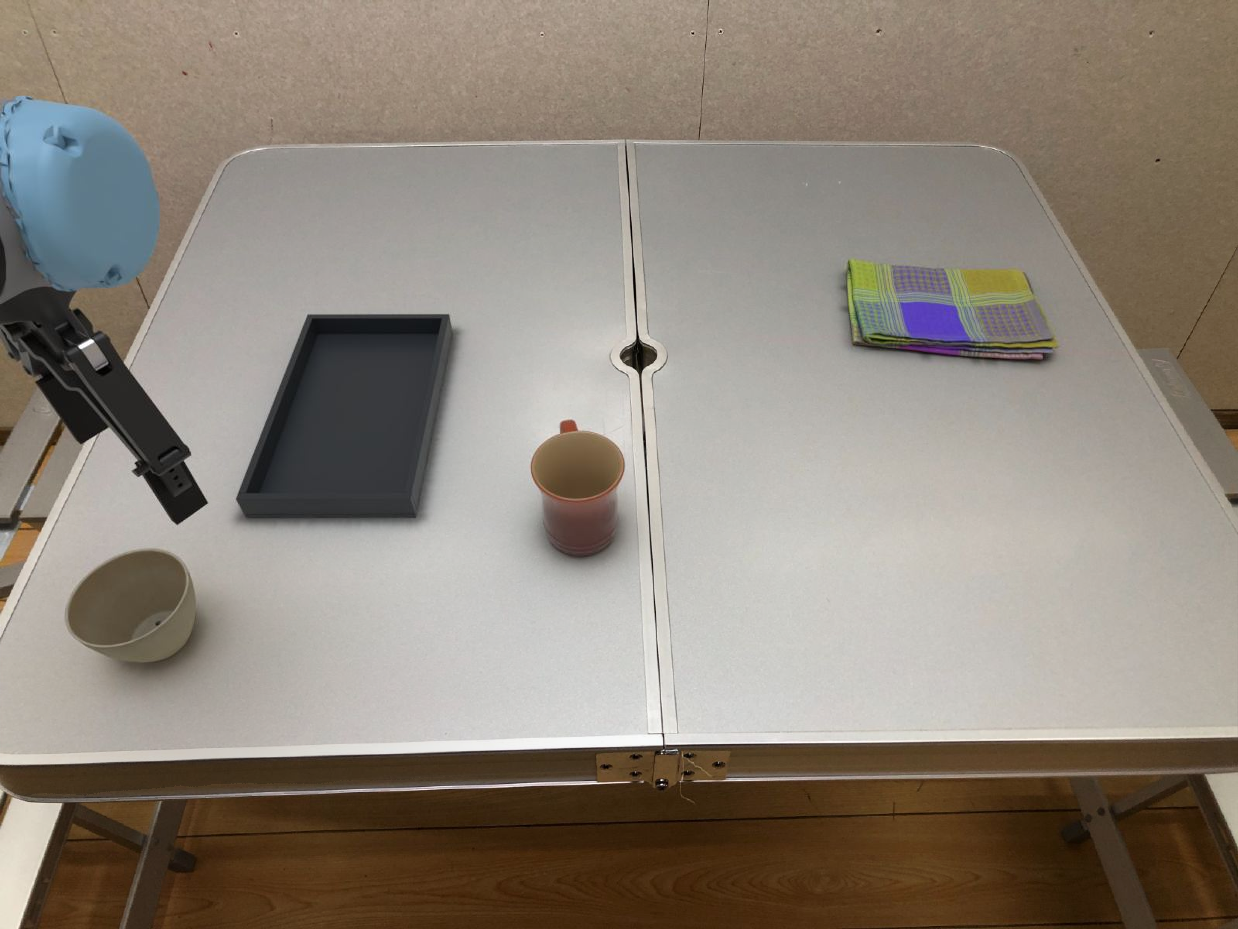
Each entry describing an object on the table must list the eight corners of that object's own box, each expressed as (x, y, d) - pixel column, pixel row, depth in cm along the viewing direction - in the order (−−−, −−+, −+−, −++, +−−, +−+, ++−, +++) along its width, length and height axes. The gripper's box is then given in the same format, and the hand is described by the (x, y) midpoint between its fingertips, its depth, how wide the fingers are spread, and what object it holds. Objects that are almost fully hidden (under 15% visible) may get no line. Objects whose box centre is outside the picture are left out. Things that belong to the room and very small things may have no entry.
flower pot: (193, 573, 82) (163, 529, 76) (235, 643, 77) (207, 600, 71) (88, 631, 78) (48, 589, 72) (125, 709, 72) (85, 669, 67)
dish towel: (843, 267, 115) (847, 250, 113) (1025, 279, 114) (1033, 262, 111) (851, 350, 104) (856, 332, 102) (1054, 365, 102) (1063, 348, 100)
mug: (631, 559, 83) (633, 493, 75) (544, 572, 82) (536, 507, 74) (610, 470, 91) (609, 401, 83) (530, 481, 90) (522, 413, 82)
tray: (416, 517, 86) (410, 498, 84) (245, 518, 86) (235, 499, 84) (453, 333, 106) (449, 313, 104) (314, 333, 106) (307, 314, 104)
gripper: (163, 285, 47) (277, 516, 63) (-44, 151, 58) (99, 380, 73) (34, 354, 43) (190, 583, 59) (-164, 197, 54) (14, 428, 69)
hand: (140, 471), depth 66 cm, fingers open, 13 cm apart
